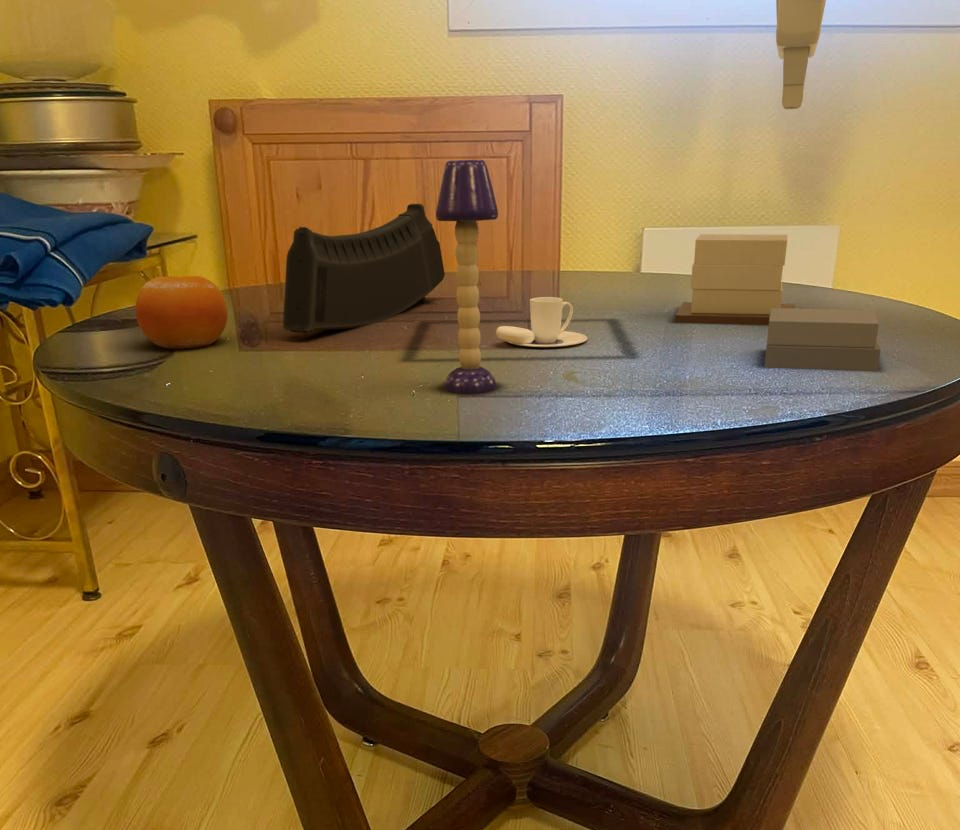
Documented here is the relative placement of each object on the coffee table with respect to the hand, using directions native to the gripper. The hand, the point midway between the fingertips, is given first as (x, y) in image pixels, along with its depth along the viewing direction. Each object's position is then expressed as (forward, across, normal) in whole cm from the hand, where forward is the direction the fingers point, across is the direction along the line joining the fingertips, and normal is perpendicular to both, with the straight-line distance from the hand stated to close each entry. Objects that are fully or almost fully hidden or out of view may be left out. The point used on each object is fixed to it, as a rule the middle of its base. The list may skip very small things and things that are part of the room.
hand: (791, 108), depth 97 cm
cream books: (+20, +2, +4) cm, 20 cm away
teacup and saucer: (+20, -14, +24) cm, 34 cm away
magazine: (+19, -4, +43) cm, 47 cm away
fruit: (+19, -22, +56) cm, 63 cm away
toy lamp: (+20, -35, +23) cm, 47 cm away
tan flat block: (+14, +2, +4) cm, 15 cm away
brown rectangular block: (+20, -20, -4) cm, 29 cm away
